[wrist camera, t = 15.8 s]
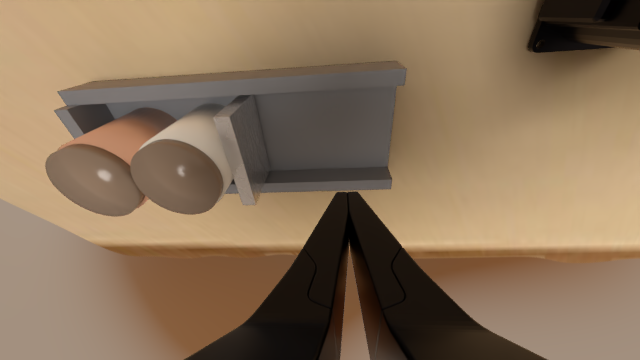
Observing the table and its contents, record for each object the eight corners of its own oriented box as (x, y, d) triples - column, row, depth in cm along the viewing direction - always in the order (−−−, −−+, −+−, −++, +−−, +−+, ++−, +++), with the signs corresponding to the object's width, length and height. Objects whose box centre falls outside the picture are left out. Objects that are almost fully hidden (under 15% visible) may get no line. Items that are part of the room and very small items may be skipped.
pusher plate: (253, 93, 18) (229, 116, 14) (270, 168, 22) (255, 204, 18) (240, 93, 18) (212, 117, 14) (259, 169, 22) (242, 205, 18)
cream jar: (242, 100, 18) (201, 140, 13) (259, 161, 21) (232, 214, 16) (176, 105, 19) (107, 145, 13) (201, 164, 22) (155, 217, 16)
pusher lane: (396, 60, 17) (411, 71, 14) (384, 170, 23) (393, 196, 19) (92, 81, 19) (42, 95, 16) (149, 177, 24) (121, 203, 21)
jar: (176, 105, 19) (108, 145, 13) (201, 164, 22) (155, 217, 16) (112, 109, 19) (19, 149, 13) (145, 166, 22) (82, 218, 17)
